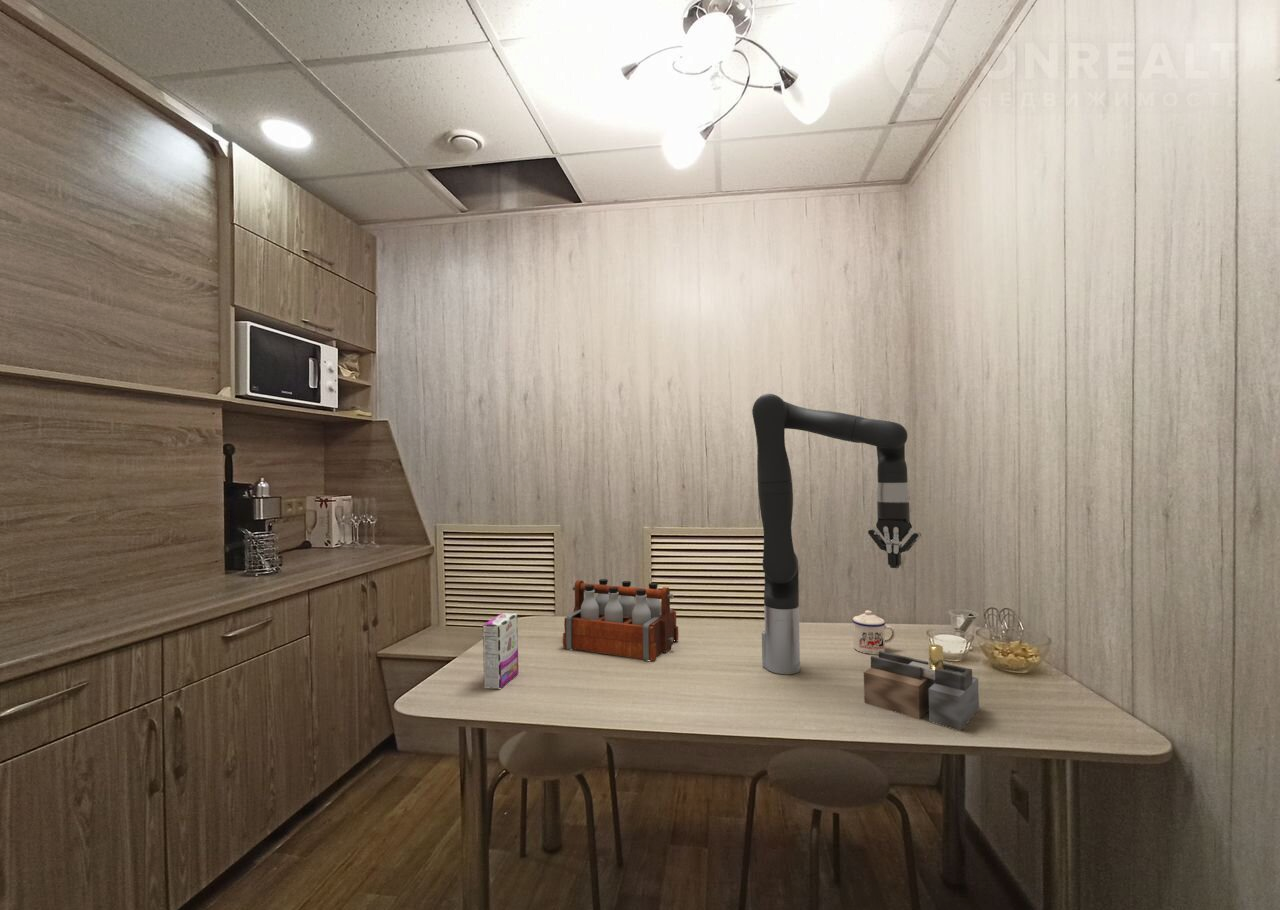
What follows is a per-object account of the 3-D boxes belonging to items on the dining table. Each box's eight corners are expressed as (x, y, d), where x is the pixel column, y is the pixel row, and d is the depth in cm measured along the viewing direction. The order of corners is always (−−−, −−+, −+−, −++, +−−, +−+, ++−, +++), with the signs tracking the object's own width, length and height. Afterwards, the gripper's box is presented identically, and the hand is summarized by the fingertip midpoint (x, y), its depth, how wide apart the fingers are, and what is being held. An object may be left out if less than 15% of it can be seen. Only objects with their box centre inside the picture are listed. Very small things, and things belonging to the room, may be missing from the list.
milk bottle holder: (589, 630, 187) (589, 574, 188) (685, 642, 173) (684, 581, 173) (556, 649, 168) (555, 586, 168) (660, 664, 154) (659, 595, 154)
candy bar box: (502, 672, 148) (501, 612, 149) (519, 673, 147) (518, 613, 148) (482, 689, 137) (481, 623, 138) (500, 690, 136) (499, 624, 137)
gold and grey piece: (908, 673, 125) (907, 642, 125) (913, 669, 127) (912, 639, 127) (962, 686, 117) (961, 653, 117) (966, 682, 119) (965, 650, 119)
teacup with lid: (857, 654, 158) (856, 614, 159) (849, 644, 167) (848, 606, 168) (900, 655, 157) (899, 615, 157) (890, 645, 166) (889, 607, 166)
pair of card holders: (864, 702, 126) (863, 659, 126) (887, 685, 136) (886, 645, 136) (960, 731, 112) (959, 682, 112) (979, 709, 122) (977, 664, 122)
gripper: (861, 500, 141) (863, 566, 141) (915, 501, 132) (917, 573, 132) (873, 498, 147) (874, 562, 146) (925, 500, 137) (927, 568, 137)
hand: (894, 567), depth 139 cm, fingers closed
